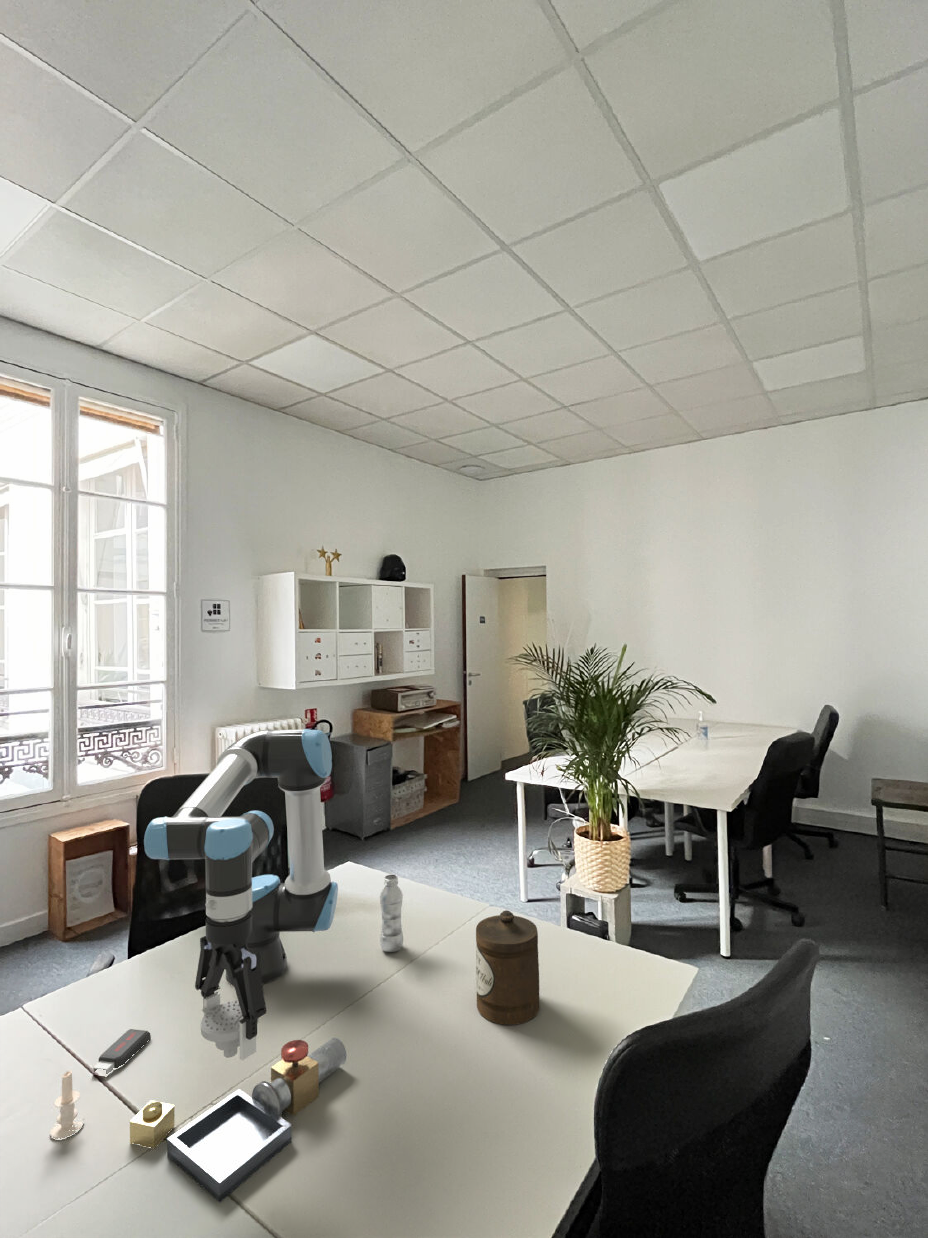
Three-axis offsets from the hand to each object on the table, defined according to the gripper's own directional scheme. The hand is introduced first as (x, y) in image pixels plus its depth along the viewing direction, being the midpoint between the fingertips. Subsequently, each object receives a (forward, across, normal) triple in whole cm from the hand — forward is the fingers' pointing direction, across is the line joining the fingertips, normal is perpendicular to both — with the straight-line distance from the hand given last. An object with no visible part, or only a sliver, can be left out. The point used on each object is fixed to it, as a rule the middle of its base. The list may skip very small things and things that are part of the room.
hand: (229, 1044), depth 109 cm
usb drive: (+19, -40, +1) cm, 44 cm away
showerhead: (+2, 0, 0) cm, 2 cm away
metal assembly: (+19, 0, +9) cm, 21 cm away
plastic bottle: (+18, -22, +66) cm, 72 cm away
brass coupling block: (+18, -14, -6) cm, 24 cm away
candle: (+18, -28, -14) cm, 36 cm away
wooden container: (+18, +18, +62) cm, 67 cm away
